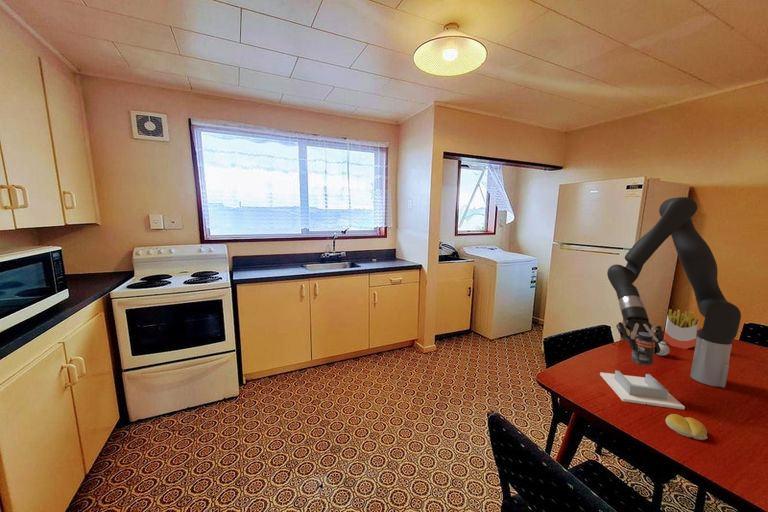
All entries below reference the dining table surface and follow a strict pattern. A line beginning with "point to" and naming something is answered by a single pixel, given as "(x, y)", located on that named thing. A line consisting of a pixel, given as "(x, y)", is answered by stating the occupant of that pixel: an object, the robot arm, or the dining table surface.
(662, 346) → the ornament
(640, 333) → the supplement bottle
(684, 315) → the french fries container
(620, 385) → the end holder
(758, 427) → the dining table surface
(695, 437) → the bread roll
